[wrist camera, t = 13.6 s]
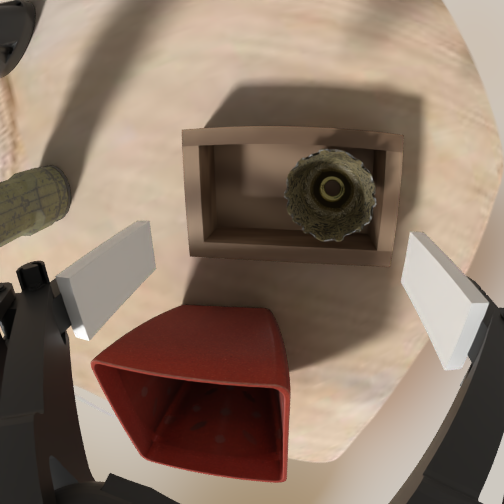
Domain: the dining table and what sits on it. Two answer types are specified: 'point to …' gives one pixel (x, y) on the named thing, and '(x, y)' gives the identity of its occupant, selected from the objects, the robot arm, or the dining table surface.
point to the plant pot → (203, 391)
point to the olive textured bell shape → (323, 205)
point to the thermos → (32, 202)
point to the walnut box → (281, 193)
